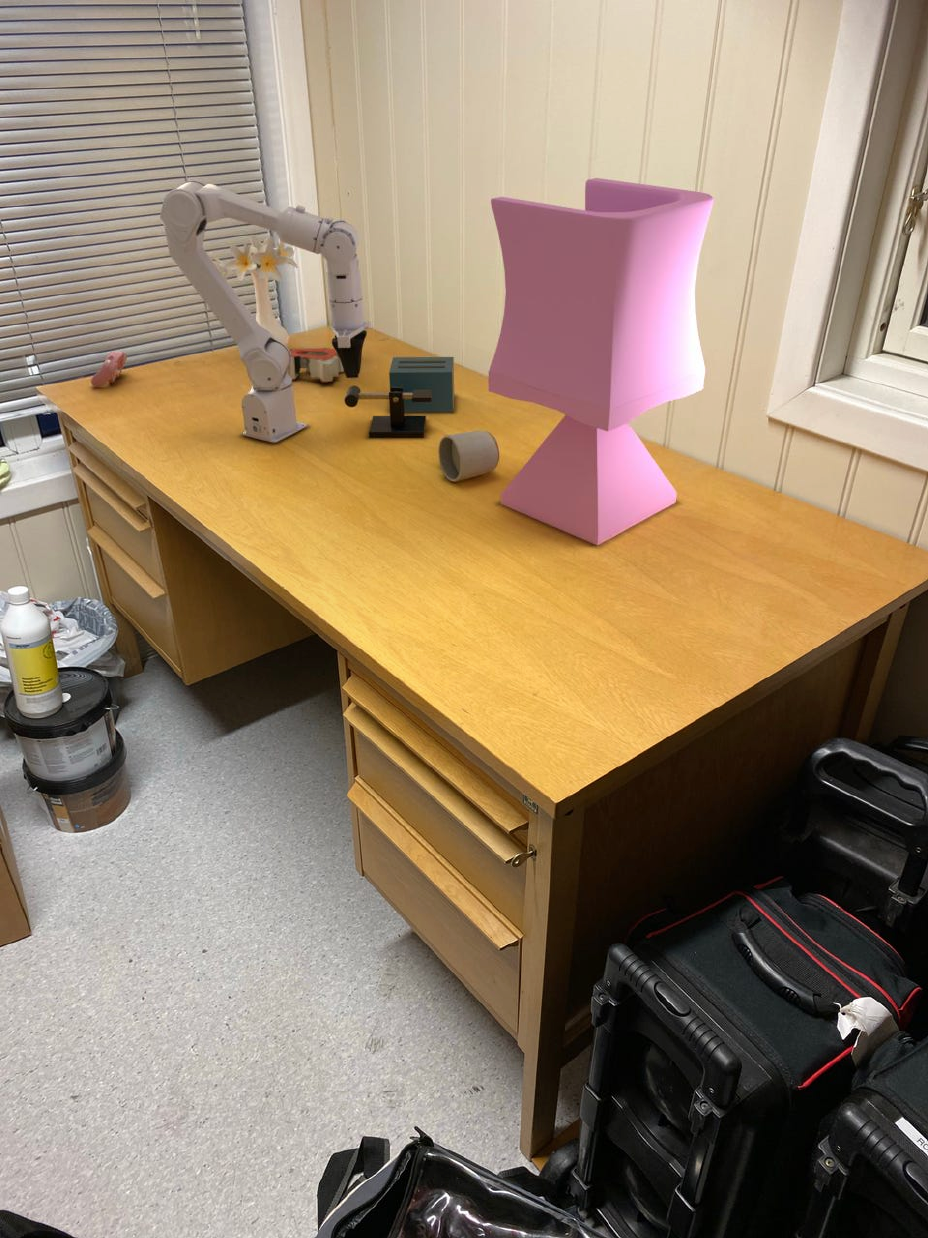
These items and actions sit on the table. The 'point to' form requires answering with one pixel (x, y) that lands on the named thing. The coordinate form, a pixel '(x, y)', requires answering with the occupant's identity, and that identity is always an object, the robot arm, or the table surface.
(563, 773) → the table surface
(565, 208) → the pink tall piece
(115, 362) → the pink lumpy figure
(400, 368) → the toaster
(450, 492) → the table surface
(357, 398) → the lever
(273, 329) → the flower vase
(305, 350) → the red grey lobed slab
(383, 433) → the bracket
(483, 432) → the ceramic mug
